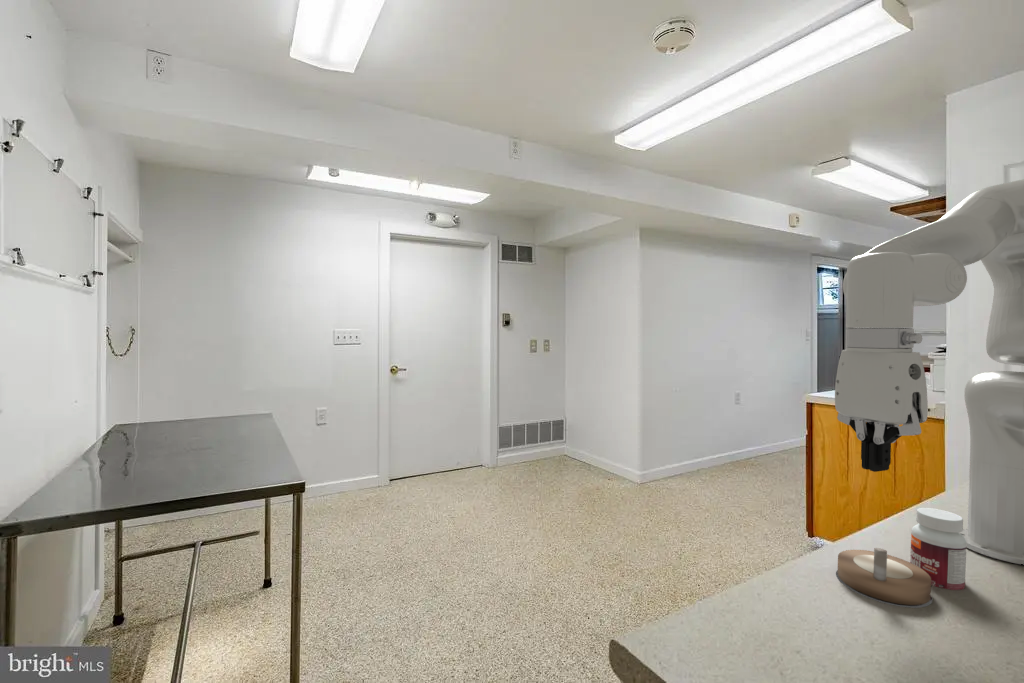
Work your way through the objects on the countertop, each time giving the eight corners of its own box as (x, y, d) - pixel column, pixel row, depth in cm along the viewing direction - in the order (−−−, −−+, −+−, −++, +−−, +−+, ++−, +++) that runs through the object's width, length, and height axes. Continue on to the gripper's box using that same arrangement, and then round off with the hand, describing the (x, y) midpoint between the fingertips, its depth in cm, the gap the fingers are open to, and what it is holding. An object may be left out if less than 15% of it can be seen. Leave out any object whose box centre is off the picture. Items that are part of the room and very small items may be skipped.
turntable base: (870, 571, 75) (870, 561, 75) (952, 610, 65) (952, 599, 65) (817, 581, 72) (818, 571, 72) (895, 624, 61) (895, 613, 61)
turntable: (842, 558, 76) (843, 518, 76) (930, 582, 69) (932, 538, 68) (832, 584, 68) (833, 540, 68) (930, 614, 61) (932, 565, 61)
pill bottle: (899, 580, 73) (901, 507, 72) (929, 575, 74) (931, 504, 74) (944, 602, 67) (947, 523, 66) (976, 597, 68) (978, 519, 68)
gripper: (959, 342, 60) (955, 483, 61) (846, 339, 75) (844, 453, 75) (918, 343, 58) (915, 489, 59) (810, 340, 73) (808, 457, 73)
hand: (875, 469), depth 67 cm, fingers closed
